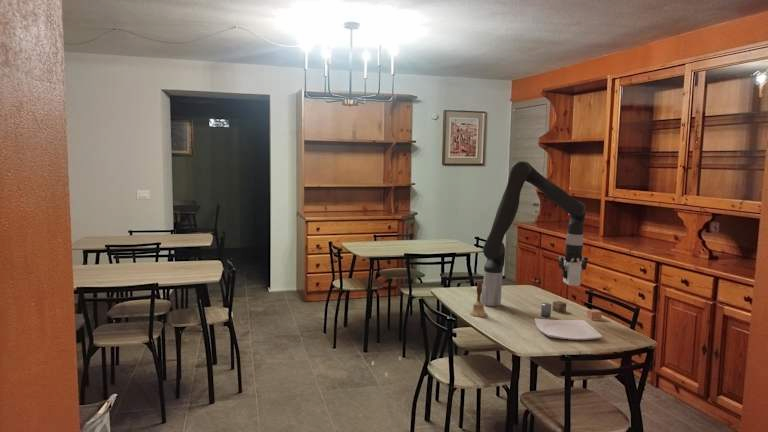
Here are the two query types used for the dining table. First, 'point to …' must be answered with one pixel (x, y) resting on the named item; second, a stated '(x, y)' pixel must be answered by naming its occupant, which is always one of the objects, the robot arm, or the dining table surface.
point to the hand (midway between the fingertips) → (571, 278)
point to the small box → (573, 273)
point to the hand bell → (478, 304)
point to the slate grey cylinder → (546, 310)
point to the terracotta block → (594, 314)
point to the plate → (567, 329)
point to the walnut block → (559, 306)
